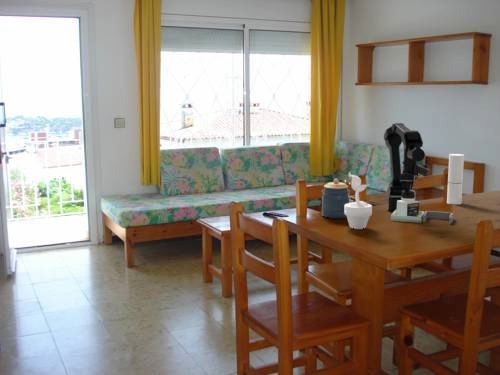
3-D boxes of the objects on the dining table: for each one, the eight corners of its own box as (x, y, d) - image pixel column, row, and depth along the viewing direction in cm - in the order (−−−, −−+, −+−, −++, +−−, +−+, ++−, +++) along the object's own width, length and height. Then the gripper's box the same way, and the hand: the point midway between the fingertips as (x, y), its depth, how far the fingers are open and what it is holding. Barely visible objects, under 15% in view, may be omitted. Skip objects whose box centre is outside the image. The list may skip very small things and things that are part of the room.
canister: (322, 219, 270) (322, 180, 267) (320, 213, 283) (321, 176, 280) (351, 219, 269) (352, 180, 267) (348, 213, 282) (348, 176, 279)
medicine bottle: (406, 218, 265) (407, 192, 263) (396, 215, 271) (397, 189, 269) (419, 217, 268) (420, 190, 266) (408, 214, 274) (409, 188, 272)
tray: (390, 220, 266) (391, 215, 266) (395, 214, 278) (395, 209, 277) (420, 222, 261) (421, 217, 261) (424, 216, 273) (424, 211, 273)
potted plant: (338, 226, 256) (339, 168, 252) (361, 223, 260) (362, 167, 256) (354, 232, 244) (356, 172, 240) (378, 229, 249) (380, 170, 245)
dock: (422, 222, 262) (422, 215, 262) (425, 217, 272) (425, 210, 272) (451, 224, 258) (451, 217, 257) (452, 219, 268) (453, 212, 267)
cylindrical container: (462, 202, 307) (464, 154, 303) (460, 204, 300) (463, 155, 296) (447, 201, 310) (450, 153, 306) (446, 203, 303) (448, 155, 299)
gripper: (426, 162, 253) (425, 198, 256) (431, 157, 270) (429, 191, 273) (399, 161, 258) (398, 196, 260) (406, 156, 275) (404, 190, 277)
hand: (408, 193), depth 268 cm, fingers open, 9 cm apart
